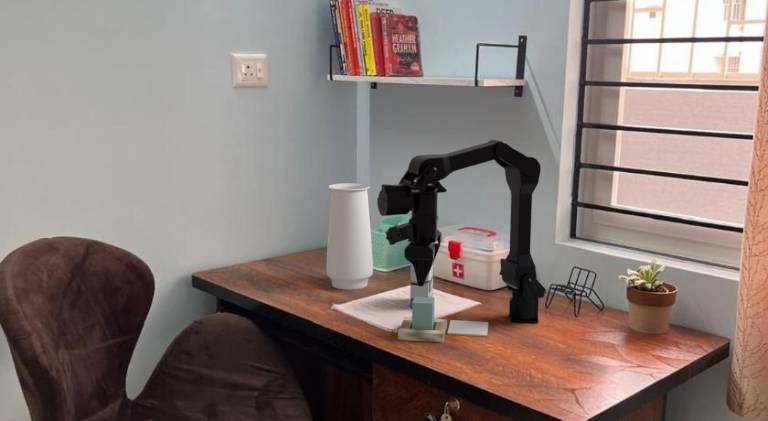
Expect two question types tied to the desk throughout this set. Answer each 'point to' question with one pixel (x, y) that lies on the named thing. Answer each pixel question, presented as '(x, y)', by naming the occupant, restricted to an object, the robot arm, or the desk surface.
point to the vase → (349, 237)
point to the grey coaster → (468, 328)
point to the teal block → (423, 313)
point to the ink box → (421, 290)
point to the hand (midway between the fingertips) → (423, 280)
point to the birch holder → (422, 331)
